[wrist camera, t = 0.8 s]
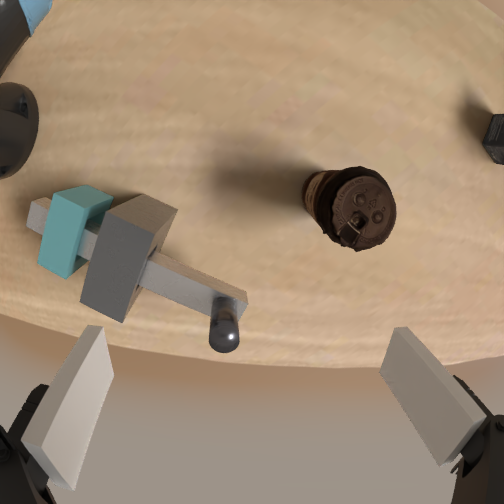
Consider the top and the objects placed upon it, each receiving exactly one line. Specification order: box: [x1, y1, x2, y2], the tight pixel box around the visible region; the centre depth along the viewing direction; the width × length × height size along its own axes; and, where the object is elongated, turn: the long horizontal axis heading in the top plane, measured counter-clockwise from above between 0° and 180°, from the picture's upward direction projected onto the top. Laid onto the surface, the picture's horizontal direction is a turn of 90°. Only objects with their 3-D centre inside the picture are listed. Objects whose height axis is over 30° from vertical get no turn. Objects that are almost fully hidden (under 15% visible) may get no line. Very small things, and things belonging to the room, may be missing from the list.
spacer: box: [37, 185, 114, 279], centre depth 29 cm, size 4×8×8 cm, turn 153°
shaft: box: [26, 197, 248, 353], centre depth 27 cm, size 26×3×9 cm, turn 63°
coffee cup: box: [302, 166, 396, 252], centre depth 32 cm, size 9×8×13 cm
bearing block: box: [80, 194, 178, 323], centre depth 32 cm, size 5×10×13 cm, turn 153°
